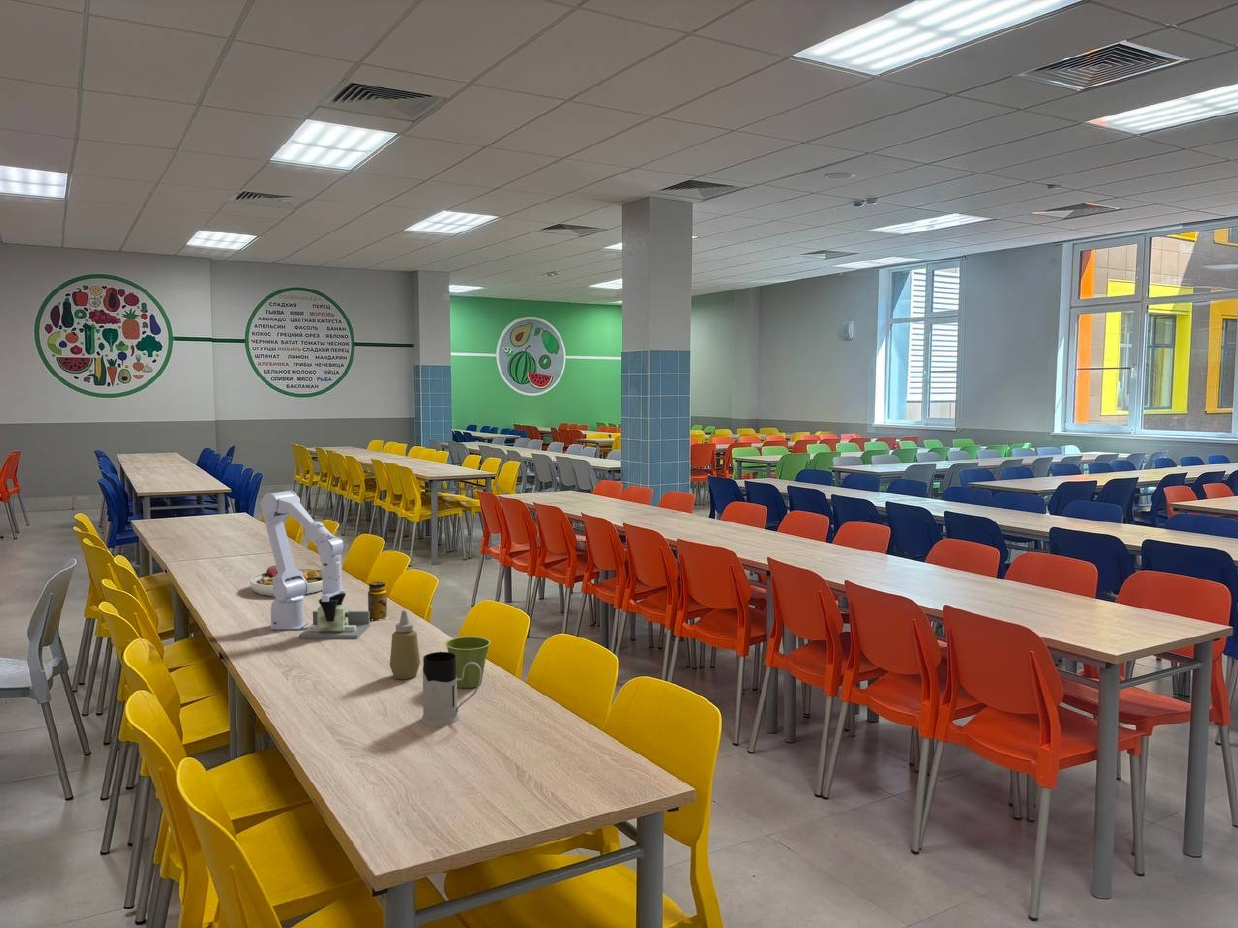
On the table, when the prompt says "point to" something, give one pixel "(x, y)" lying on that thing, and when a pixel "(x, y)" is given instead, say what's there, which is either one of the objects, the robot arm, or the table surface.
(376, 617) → the condiment
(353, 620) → the board
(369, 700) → the table surface
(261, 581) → the bowl
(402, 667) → the squeeze bottle
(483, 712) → the table surface
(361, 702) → the table surface
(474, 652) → the plant pot
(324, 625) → the block
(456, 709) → the glass holder
